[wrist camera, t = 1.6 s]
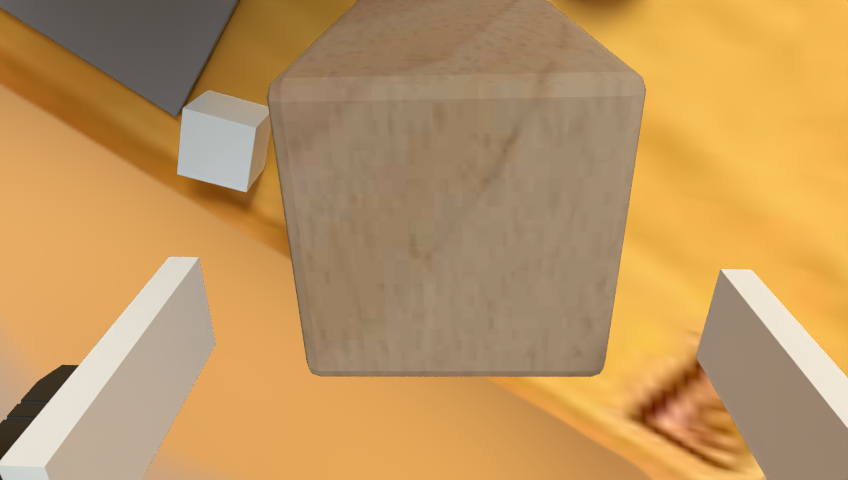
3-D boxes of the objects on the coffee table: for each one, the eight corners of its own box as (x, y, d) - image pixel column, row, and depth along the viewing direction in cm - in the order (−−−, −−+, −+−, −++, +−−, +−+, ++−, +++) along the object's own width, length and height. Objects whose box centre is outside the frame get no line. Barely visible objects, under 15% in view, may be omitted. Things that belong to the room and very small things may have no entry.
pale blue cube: (208, 89, 36) (182, 107, 32) (274, 107, 36) (256, 127, 33) (202, 150, 38) (177, 174, 34) (265, 167, 38) (246, 192, 34)
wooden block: (370, 165, 38) (305, 382, 20) (358, -5, 33) (258, 82, 15) (530, 163, 37) (607, 383, 20) (540, -10, 32) (655, 75, 15)
